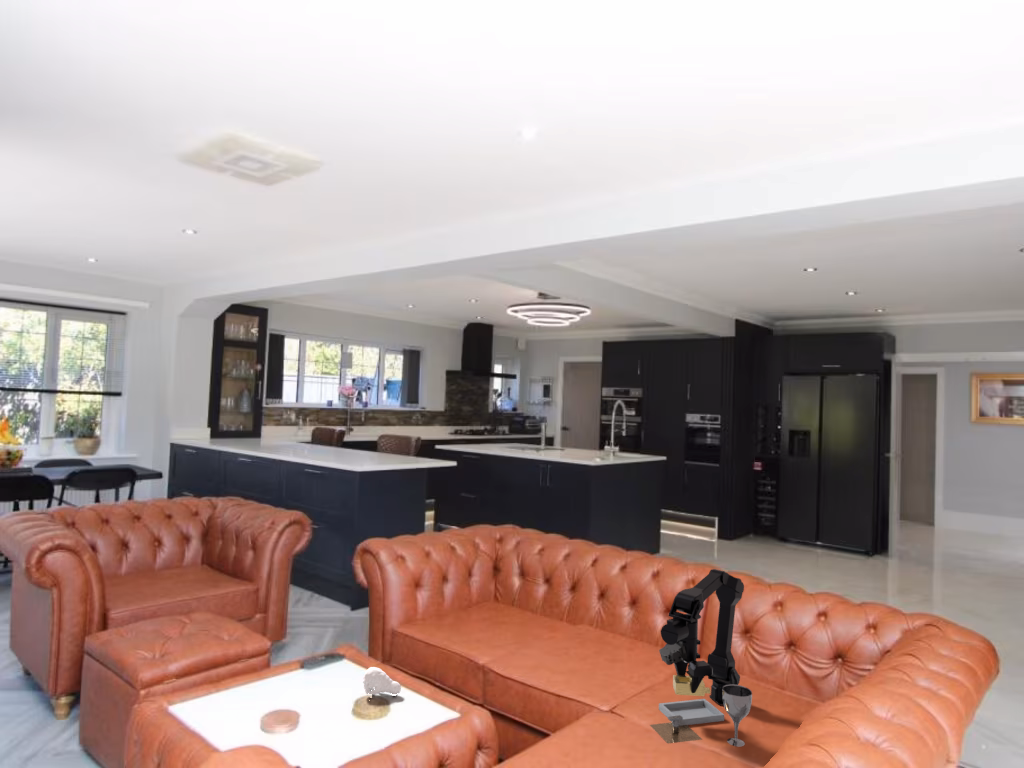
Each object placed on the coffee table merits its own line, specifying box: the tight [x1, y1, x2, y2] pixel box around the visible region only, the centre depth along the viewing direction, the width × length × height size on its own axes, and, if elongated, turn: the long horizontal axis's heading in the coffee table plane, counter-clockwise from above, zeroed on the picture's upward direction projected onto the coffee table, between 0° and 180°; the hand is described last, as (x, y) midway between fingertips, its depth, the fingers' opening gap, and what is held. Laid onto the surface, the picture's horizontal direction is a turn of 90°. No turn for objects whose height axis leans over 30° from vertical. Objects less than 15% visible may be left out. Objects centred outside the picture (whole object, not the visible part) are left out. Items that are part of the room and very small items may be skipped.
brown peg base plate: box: [649, 715, 703, 745], centre depth 200 cm, size 11×11×5 cm
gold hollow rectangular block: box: [672, 674, 711, 697], centre depth 207 cm, size 10×6×3 cm, turn 85°
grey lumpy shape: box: [362, 666, 402, 695], centre depth 219 cm, size 6×8×12 cm
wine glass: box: [722, 684, 753, 748], centre depth 195 cm, size 8×8×15 cm
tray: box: [658, 698, 725, 726], centre depth 211 cm, size 16×11×2 cm
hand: (687, 687), depth 207 cm, fingers closed on gold hollow rectangular block, 7 cm apart
